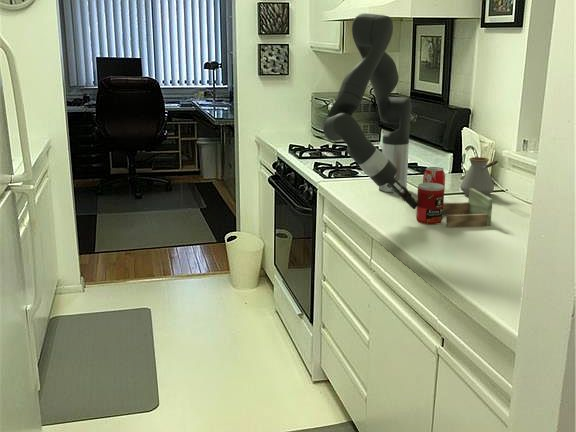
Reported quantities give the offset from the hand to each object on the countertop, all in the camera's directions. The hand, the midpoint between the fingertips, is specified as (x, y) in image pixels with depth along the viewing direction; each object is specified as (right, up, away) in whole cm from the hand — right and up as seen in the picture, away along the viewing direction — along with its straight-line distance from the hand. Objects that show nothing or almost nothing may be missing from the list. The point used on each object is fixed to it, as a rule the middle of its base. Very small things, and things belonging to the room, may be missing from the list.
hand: (415, 206), depth 185 cm
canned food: (+4, -5, +2) cm, 7 cm away
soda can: (+10, +1, +21) cm, 24 cm away
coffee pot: (+29, +3, +29) cm, 41 cm away
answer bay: (+13, -4, +3) cm, 14 cm away
